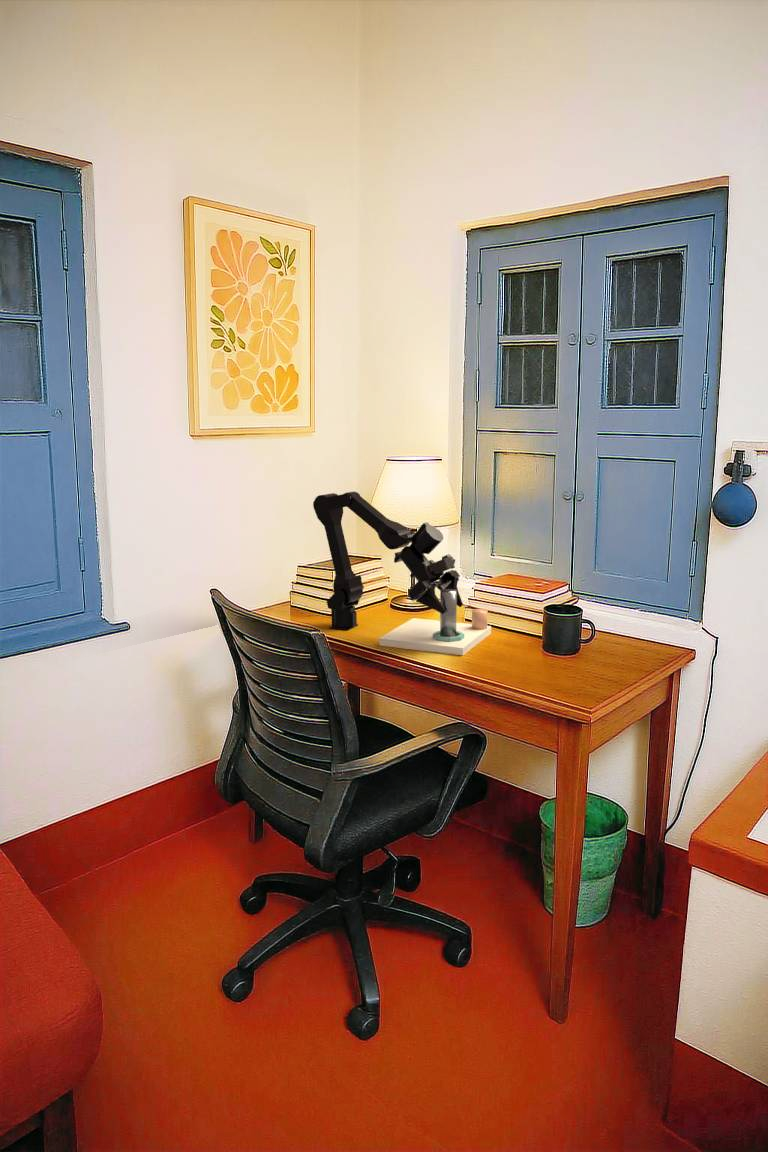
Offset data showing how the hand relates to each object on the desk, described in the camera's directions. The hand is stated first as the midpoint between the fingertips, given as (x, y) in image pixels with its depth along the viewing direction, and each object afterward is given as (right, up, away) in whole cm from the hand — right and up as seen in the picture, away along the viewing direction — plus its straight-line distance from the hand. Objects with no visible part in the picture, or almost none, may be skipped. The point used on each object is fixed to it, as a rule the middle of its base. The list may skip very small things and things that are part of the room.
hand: (453, 609), depth 236 cm
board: (-4, -9, +8) cm, 13 cm away
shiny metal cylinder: (-1, -8, +2) cm, 8 cm away
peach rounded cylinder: (+8, -6, +12) cm, 16 cm away
